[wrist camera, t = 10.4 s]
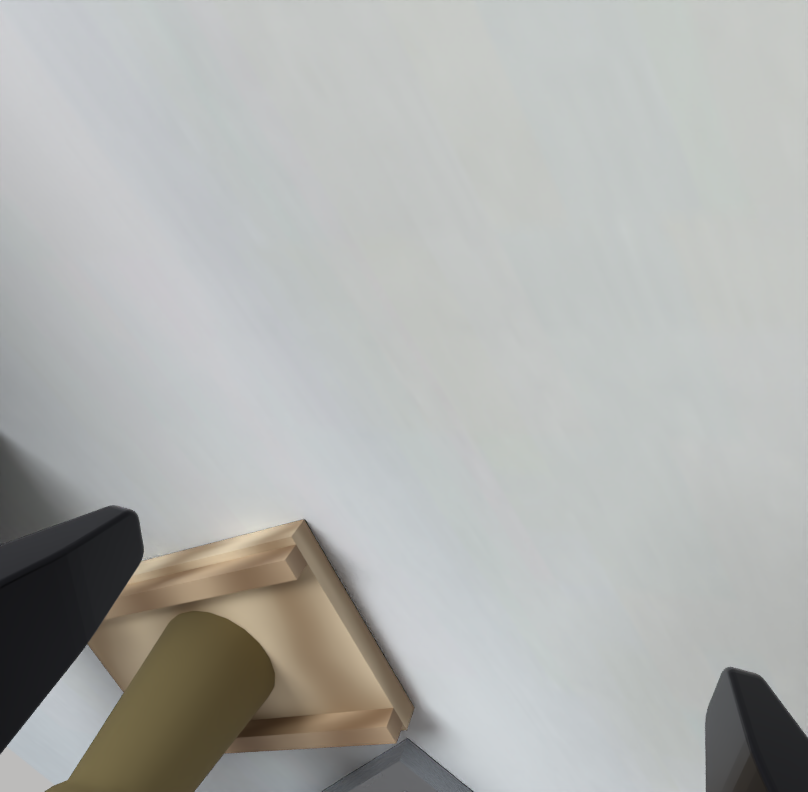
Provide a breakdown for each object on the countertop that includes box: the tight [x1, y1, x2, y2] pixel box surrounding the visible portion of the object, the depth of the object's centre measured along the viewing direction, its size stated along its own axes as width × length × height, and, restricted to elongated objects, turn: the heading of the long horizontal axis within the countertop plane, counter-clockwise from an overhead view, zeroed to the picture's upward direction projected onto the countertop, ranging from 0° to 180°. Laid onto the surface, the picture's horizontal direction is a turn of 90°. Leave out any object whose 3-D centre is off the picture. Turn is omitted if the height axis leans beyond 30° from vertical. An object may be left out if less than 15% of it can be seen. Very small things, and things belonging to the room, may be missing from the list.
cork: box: [45, 611, 275, 792], centre depth 26 cm, size 6×6×11 cm
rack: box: [88, 519, 414, 753], centre depth 31 cm, size 16×11×2 cm
